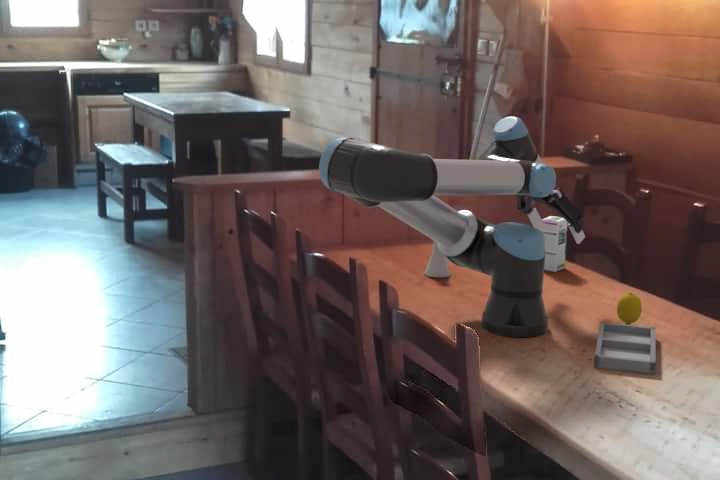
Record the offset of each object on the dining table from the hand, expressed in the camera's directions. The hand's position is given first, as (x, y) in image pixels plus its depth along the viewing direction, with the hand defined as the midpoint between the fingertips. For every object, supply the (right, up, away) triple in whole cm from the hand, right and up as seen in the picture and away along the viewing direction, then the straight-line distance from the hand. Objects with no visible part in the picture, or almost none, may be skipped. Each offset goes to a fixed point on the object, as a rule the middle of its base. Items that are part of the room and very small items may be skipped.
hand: (560, 234), depth 248 cm
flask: (-30, -11, +18) cm, 37 cm away
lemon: (+11, -21, -21) cm, 32 cm away
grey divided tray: (+6, -25, -39) cm, 47 cm away
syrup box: (+3, -10, +26) cm, 28 cm away
